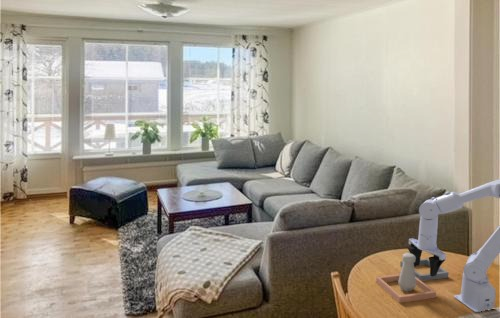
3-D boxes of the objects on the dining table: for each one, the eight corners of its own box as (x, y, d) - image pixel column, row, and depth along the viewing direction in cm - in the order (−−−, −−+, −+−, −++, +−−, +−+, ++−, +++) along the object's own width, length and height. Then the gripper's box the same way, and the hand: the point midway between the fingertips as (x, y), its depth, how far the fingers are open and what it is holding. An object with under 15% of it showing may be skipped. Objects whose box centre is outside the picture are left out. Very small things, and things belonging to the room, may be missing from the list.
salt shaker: (409, 284, 137) (412, 250, 134) (419, 292, 131) (422, 257, 129) (394, 285, 136) (397, 251, 133) (403, 294, 130) (406, 258, 128)
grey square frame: (448, 277, 142) (448, 272, 141) (419, 281, 139) (420, 276, 139) (426, 263, 153) (427, 258, 153) (400, 266, 150) (400, 261, 150)
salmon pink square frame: (435, 297, 128) (436, 292, 128) (398, 302, 125) (399, 297, 125) (409, 277, 141) (410, 272, 141) (376, 281, 138) (376, 276, 138)
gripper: (454, 240, 126) (450, 277, 128) (420, 225, 139) (417, 260, 142) (438, 243, 123) (434, 281, 126) (405, 228, 136) (402, 263, 139)
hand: (424, 270), depth 134 cm, fingers open, 7 cm apart
